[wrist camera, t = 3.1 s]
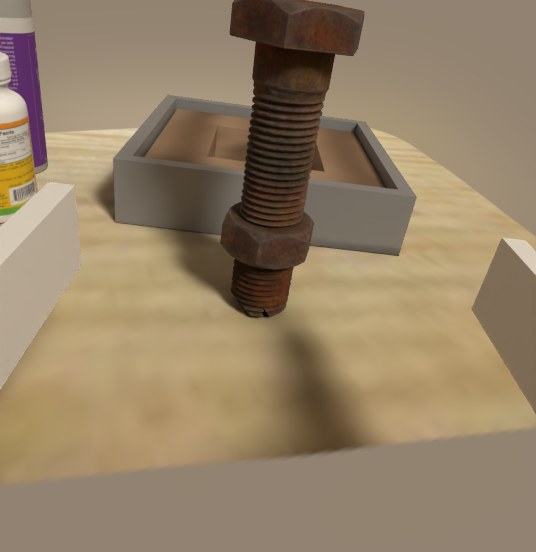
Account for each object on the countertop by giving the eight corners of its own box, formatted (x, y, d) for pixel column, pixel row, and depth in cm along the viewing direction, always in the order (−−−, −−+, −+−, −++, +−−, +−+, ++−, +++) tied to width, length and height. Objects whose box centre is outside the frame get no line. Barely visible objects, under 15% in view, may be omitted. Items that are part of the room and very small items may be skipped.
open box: (115, 222, 34) (113, 158, 31) (166, 139, 51) (167, 94, 48) (398, 255, 35) (416, 197, 33) (355, 164, 52) (365, 121, 50)
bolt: (290, 277, 31) (340, 4, 23) (322, 327, 27) (396, 16, 19) (198, 282, 29) (218, -14, 21) (217, 337, 25) (251, -4, 17)
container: (60, 166, 41) (41, -47, 33) (13, 181, 37) (-21, -55, 30) (19, 152, 42) (-8, -55, 35) (-31, 165, 39) (-73, -64, 31)
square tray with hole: (136, 209, 35) (136, 168, 33) (176, 139, 50) (177, 108, 48) (380, 238, 36) (391, 200, 34) (347, 161, 51) (353, 132, 49)
